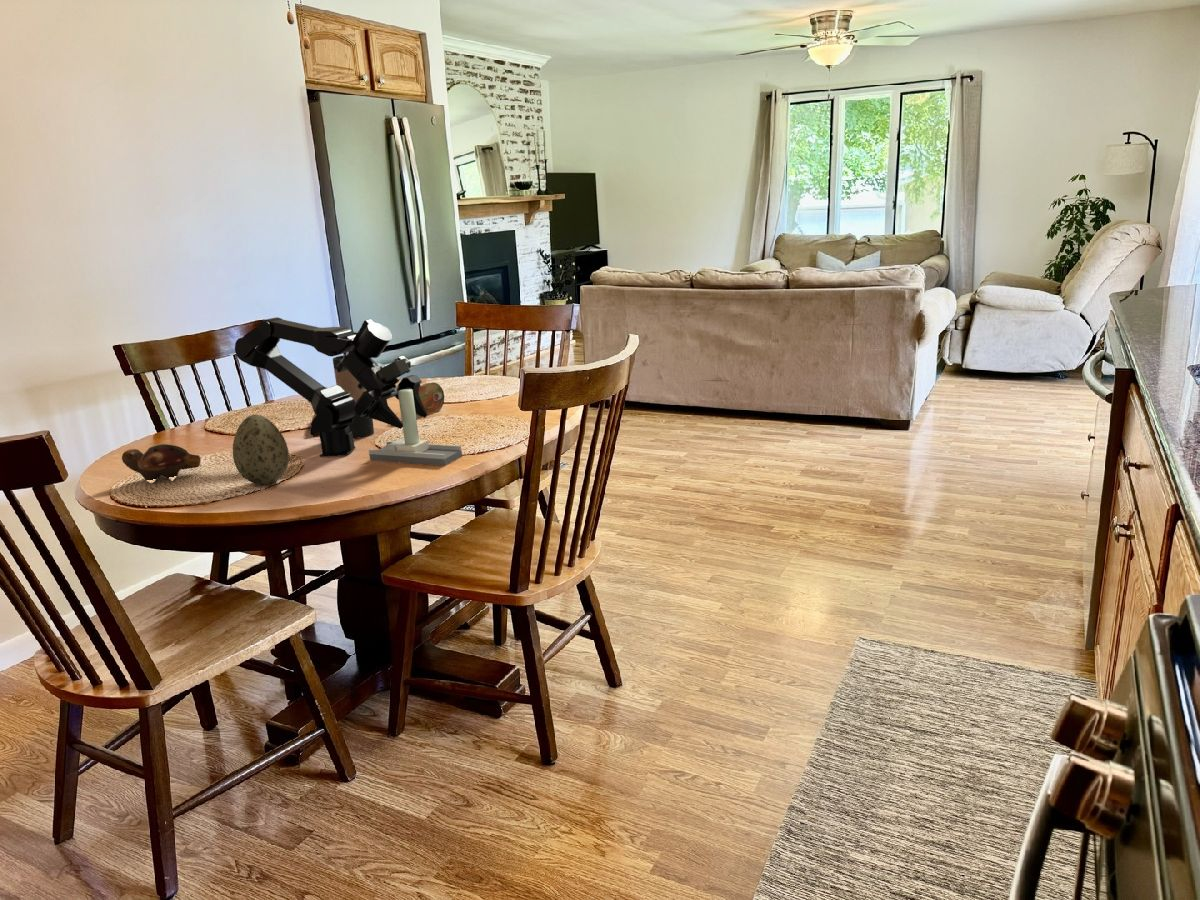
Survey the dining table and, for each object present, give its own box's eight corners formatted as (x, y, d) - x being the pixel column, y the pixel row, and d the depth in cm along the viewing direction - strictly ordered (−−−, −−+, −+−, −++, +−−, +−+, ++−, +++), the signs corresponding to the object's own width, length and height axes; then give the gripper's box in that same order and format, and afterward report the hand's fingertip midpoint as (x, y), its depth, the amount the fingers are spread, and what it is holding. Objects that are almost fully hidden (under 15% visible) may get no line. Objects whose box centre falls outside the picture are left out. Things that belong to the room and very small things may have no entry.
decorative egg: (255, 476, 181) (242, 409, 176) (302, 474, 179) (290, 407, 175) (229, 492, 170) (215, 422, 166) (278, 491, 169) (265, 420, 165)
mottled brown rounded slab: (408, 422, 219) (404, 391, 217) (399, 421, 221) (395, 390, 219) (446, 409, 231) (443, 379, 229) (438, 408, 233) (434, 379, 231)
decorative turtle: (125, 480, 183) (120, 445, 182) (200, 471, 191) (196, 437, 189) (125, 490, 175) (120, 453, 173) (204, 479, 182) (199, 444, 181)
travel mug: (346, 440, 205) (334, 361, 199) (342, 433, 212) (330, 356, 206) (377, 435, 208) (366, 357, 202) (372, 429, 215) (361, 352, 209)
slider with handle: (397, 454, 184) (388, 393, 180) (410, 447, 189) (402, 387, 185) (415, 455, 182) (407, 393, 178) (429, 448, 187) (421, 388, 183)
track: (370, 460, 187) (367, 445, 186) (388, 451, 193) (386, 437, 192) (445, 465, 179) (443, 450, 178) (462, 456, 185) (460, 441, 184)
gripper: (357, 354, 172) (407, 408, 171) (409, 339, 189) (456, 388, 188) (332, 390, 178) (382, 442, 176) (385, 372, 194) (431, 420, 193)
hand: (414, 421), depth 183 cm, fingers open, 9 cm apart
